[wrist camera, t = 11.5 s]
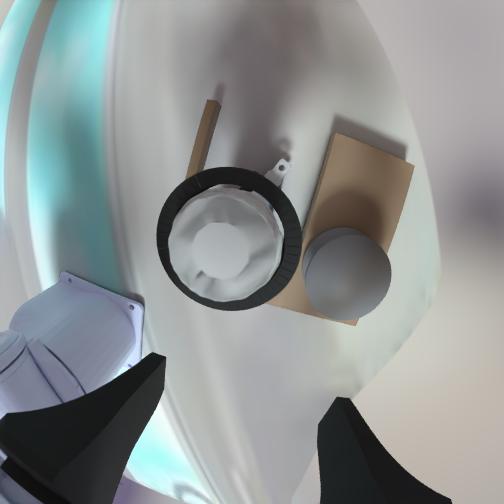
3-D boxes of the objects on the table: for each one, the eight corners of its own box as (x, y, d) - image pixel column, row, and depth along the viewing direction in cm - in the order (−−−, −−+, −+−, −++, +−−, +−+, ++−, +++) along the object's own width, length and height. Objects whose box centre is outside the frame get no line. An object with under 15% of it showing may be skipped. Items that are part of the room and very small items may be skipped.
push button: (255, 139, 17) (230, 99, 7) (318, 189, 17) (366, 207, 8) (196, 216, 19) (121, 261, 9) (256, 263, 19) (237, 349, 10)
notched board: (174, 266, 20) (151, 288, 16) (212, 104, 16) (195, 87, 12) (350, 316, 20) (364, 346, 16) (405, 165, 16) (434, 165, 12)
